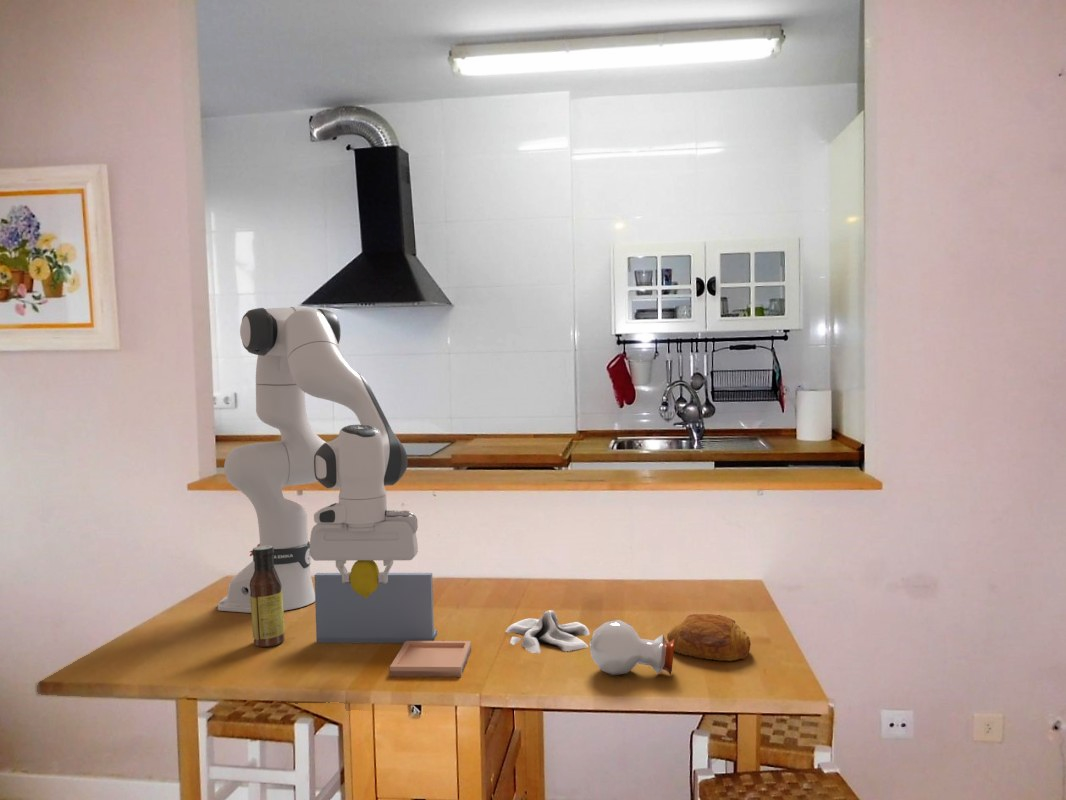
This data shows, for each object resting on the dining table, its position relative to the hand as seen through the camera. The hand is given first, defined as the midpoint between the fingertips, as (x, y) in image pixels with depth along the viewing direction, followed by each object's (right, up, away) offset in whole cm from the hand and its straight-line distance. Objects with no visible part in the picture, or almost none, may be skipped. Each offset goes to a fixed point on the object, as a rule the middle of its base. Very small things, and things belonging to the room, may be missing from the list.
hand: (365, 582), depth 146 cm
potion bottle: (+50, -15, -8) cm, 53 cm away
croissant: (+67, -14, +3) cm, 68 cm away
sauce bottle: (-22, -15, +11) cm, 29 cm away
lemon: (0, -3, 0) cm, 3 cm away
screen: (0, -15, +12) cm, 19 cm away
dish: (+13, -15, -1) cm, 20 cm away
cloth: (+35, -15, +10) cm, 39 cm away
